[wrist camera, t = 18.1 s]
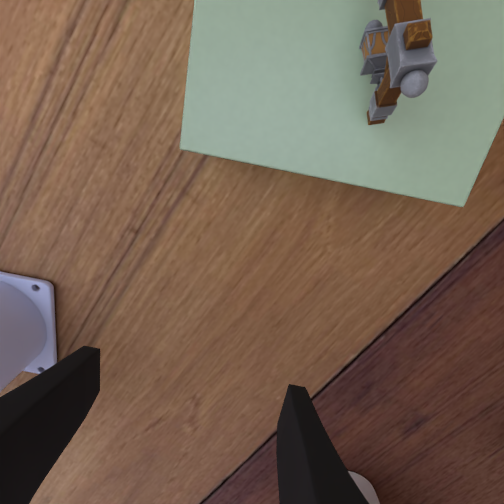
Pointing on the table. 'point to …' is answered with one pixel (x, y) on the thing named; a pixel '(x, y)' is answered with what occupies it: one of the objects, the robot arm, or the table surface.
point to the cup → (365, 488)
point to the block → (343, 94)
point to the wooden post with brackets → (397, 56)
